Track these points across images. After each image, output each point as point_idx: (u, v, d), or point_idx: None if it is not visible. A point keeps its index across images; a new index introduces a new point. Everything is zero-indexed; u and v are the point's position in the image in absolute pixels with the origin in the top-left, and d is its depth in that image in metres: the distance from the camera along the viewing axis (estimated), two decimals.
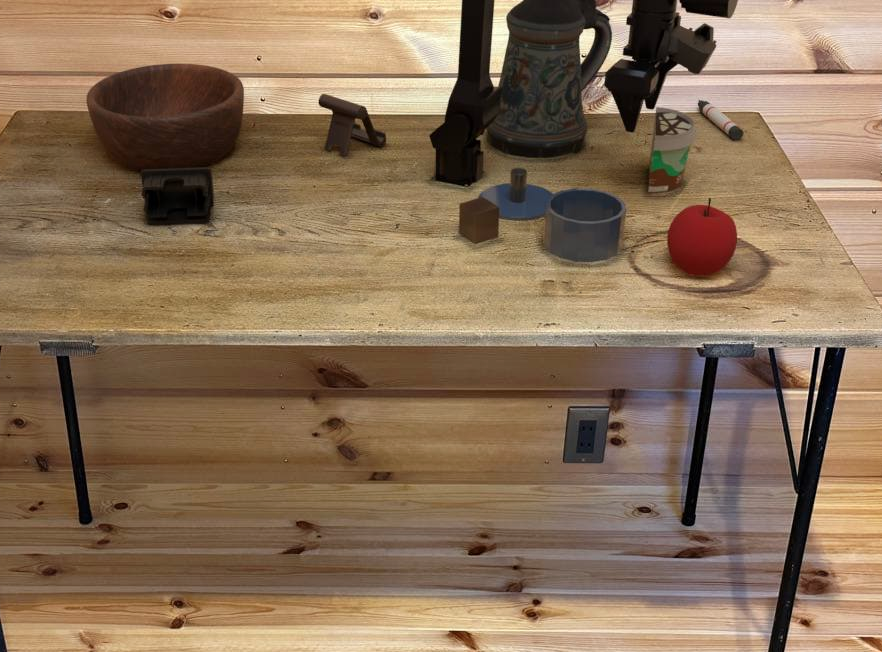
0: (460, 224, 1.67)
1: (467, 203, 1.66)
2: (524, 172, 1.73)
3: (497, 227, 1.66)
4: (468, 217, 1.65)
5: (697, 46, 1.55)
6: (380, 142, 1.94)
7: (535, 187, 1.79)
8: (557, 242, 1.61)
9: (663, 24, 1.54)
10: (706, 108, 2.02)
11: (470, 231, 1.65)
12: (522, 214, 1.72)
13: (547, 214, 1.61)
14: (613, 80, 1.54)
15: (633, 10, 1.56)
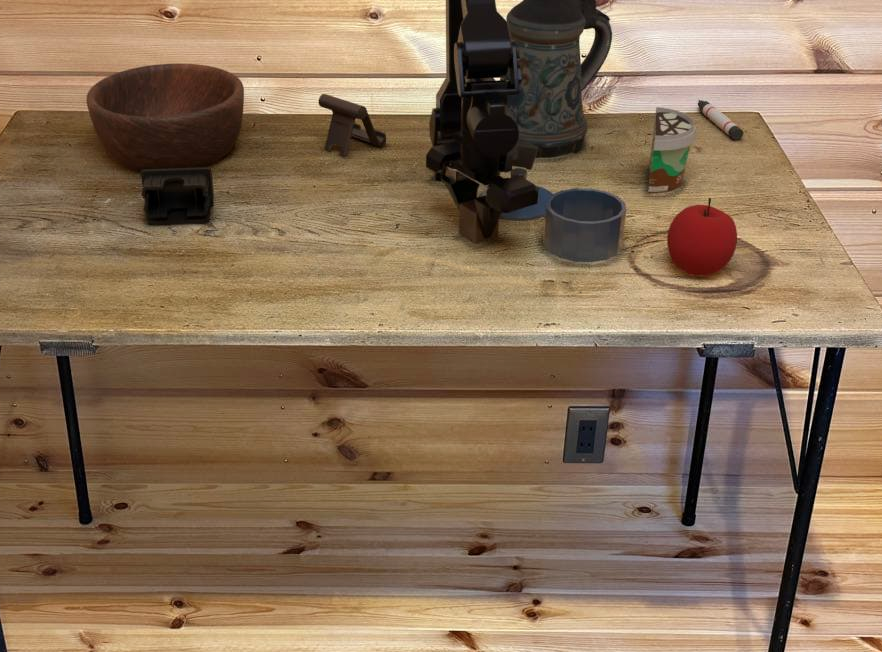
0: (460, 224, 1.67)
1: (467, 203, 1.66)
2: (524, 172, 1.73)
3: (497, 227, 1.66)
4: (468, 217, 1.65)
5: (527, 145, 1.62)
6: (380, 142, 1.94)
7: None
8: (557, 242, 1.61)
9: None
10: (706, 108, 2.02)
11: (470, 231, 1.65)
12: (522, 214, 1.72)
13: (547, 214, 1.61)
14: (512, 203, 1.55)
15: None
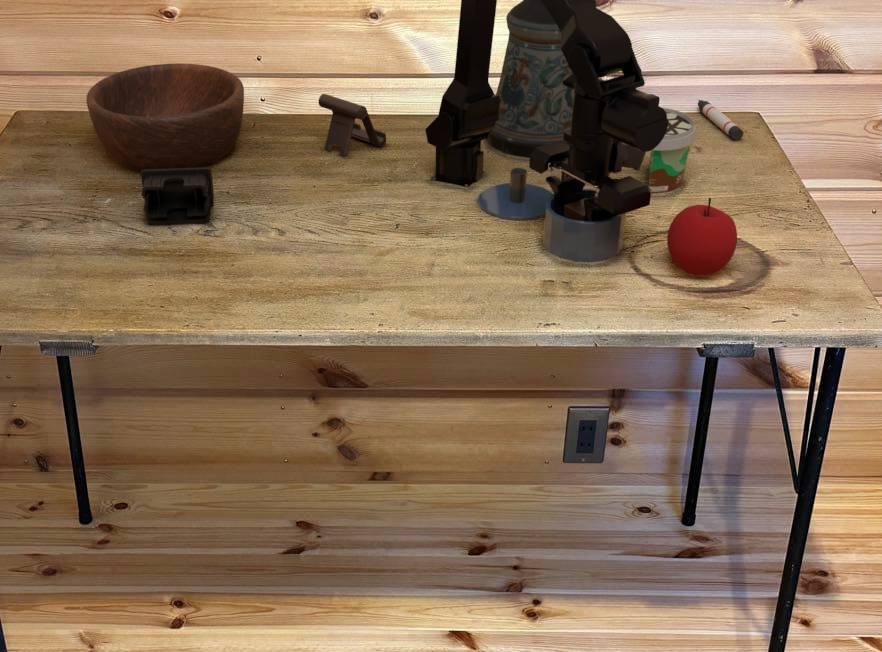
0: None
1: (572, 204, 1.62)
2: (524, 172, 1.73)
3: None
4: (574, 219, 1.62)
5: None
6: (380, 142, 1.94)
7: (535, 187, 1.79)
8: (557, 242, 1.61)
9: None
10: (706, 108, 2.02)
11: None
12: (522, 214, 1.72)
13: (547, 214, 1.61)
14: (625, 205, 1.52)
15: (588, 136, 1.53)
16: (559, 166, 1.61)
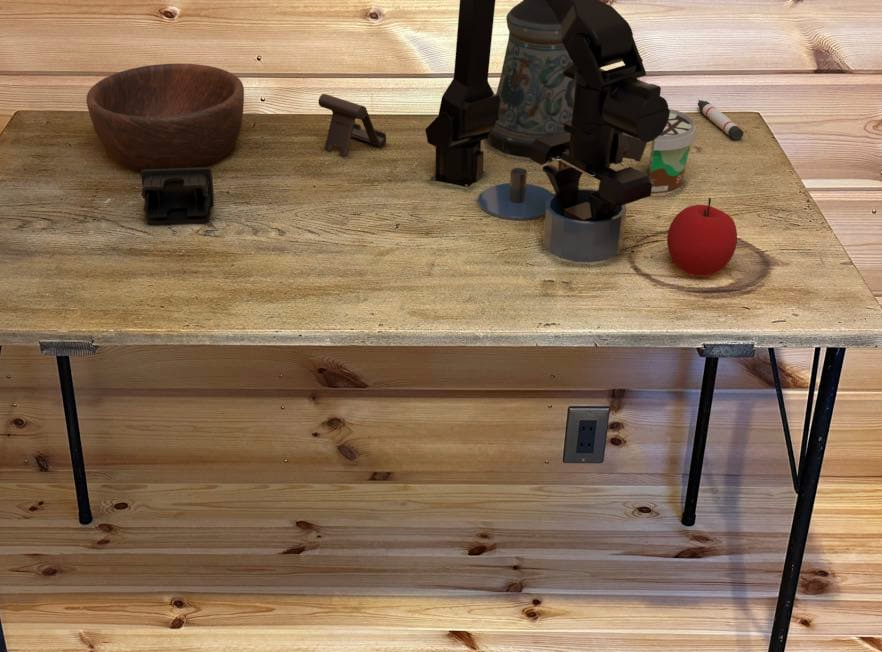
0: None
1: (572, 208, 1.63)
2: (524, 172, 1.73)
3: None
4: None
5: None
6: (380, 142, 1.94)
7: (535, 187, 1.79)
8: (557, 242, 1.61)
9: None
10: (706, 108, 2.02)
11: None
12: (522, 214, 1.72)
13: (547, 214, 1.61)
14: (626, 195, 1.51)
15: (589, 126, 1.52)
16: (560, 157, 1.61)
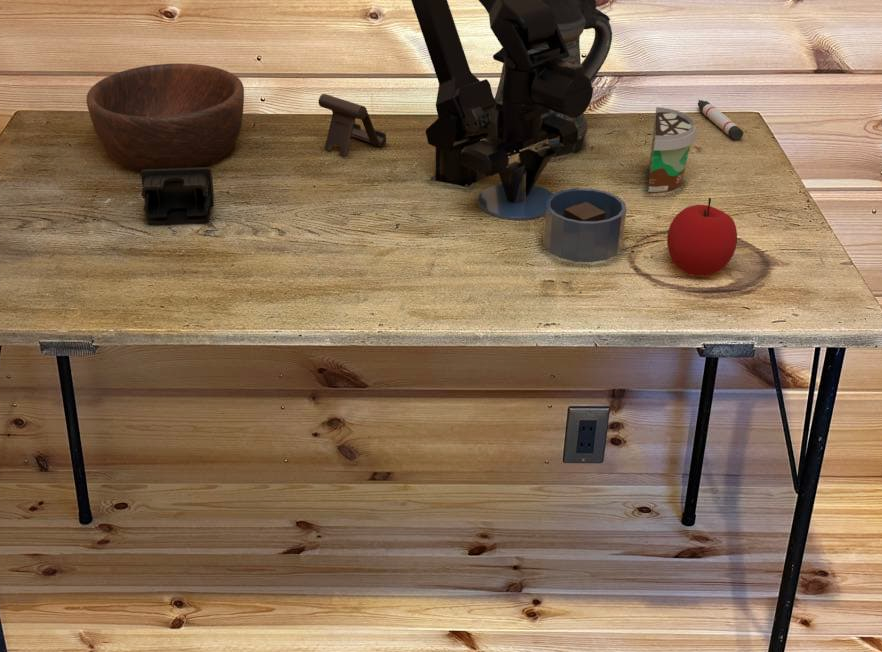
0: None
1: (572, 208, 1.63)
2: (524, 172, 1.73)
3: None
4: None
5: None
6: (380, 142, 1.94)
7: (535, 187, 1.79)
8: (557, 242, 1.61)
9: None
10: (706, 108, 2.02)
11: None
12: (522, 214, 1.72)
13: (547, 214, 1.61)
14: None
15: None
16: (507, 154, 1.67)
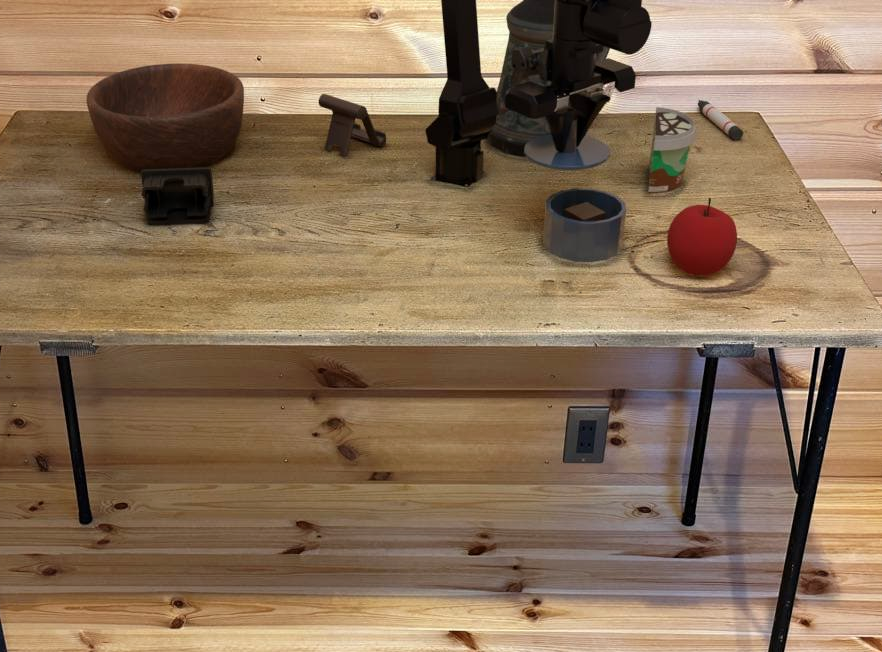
0: None
1: (572, 208, 1.63)
2: (575, 119, 1.59)
3: None
4: None
5: None
6: (380, 142, 1.94)
7: (587, 138, 1.65)
8: (557, 242, 1.61)
9: None
10: (706, 108, 2.02)
11: None
12: (571, 164, 1.58)
13: (547, 214, 1.61)
14: None
15: None
16: (555, 96, 1.54)
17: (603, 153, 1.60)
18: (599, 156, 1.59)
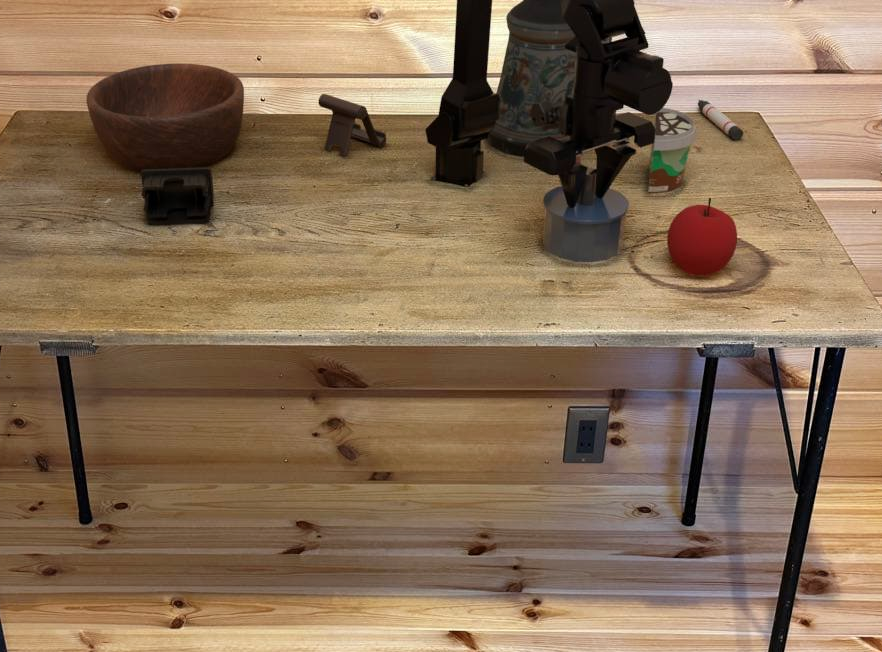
0: None
1: None
2: (595, 172, 1.58)
3: None
4: None
5: None
6: (380, 142, 1.94)
7: None
8: (557, 242, 1.61)
9: None
10: (706, 108, 2.02)
11: None
12: (589, 218, 1.57)
13: (547, 214, 1.61)
14: None
15: None
16: (575, 152, 1.53)
17: (622, 206, 1.60)
18: (617, 210, 1.59)
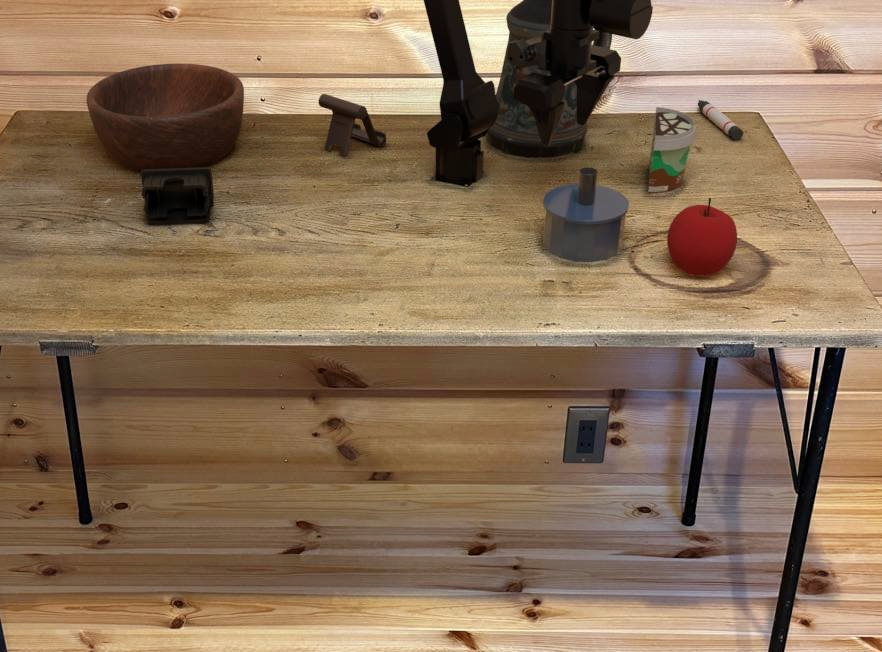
0: None
1: None
2: (595, 172, 1.58)
3: None
4: None
5: (535, 39, 1.65)
6: (380, 142, 1.94)
7: (606, 189, 1.64)
8: (557, 242, 1.61)
9: None
10: (706, 108, 2.02)
11: None
12: (589, 218, 1.57)
13: (547, 214, 1.61)
14: None
15: None
16: None
17: (622, 206, 1.60)
18: (617, 210, 1.59)
